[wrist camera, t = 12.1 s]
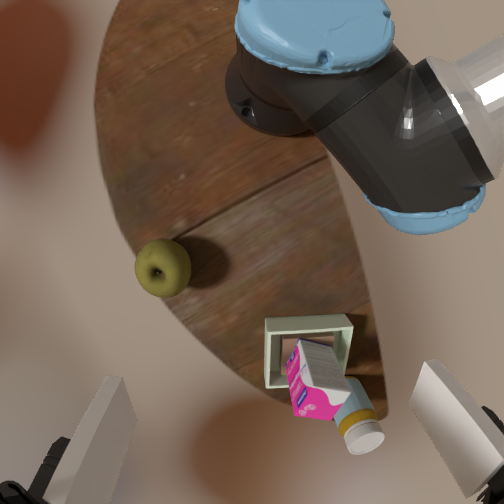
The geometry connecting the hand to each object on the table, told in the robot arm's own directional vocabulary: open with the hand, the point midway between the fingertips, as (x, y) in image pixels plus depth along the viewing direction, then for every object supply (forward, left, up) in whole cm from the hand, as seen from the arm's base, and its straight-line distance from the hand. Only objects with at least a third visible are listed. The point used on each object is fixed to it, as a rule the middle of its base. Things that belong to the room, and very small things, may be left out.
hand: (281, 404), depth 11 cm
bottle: (+29, +17, -32) cm, 47 cm away
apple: (+3, -12, -32) cm, 34 cm away
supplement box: (+18, +8, -28) cm, 35 cm away
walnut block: (+18, +8, -31) cm, 37 cm away
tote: (+18, +8, -32) cm, 37 cm away
